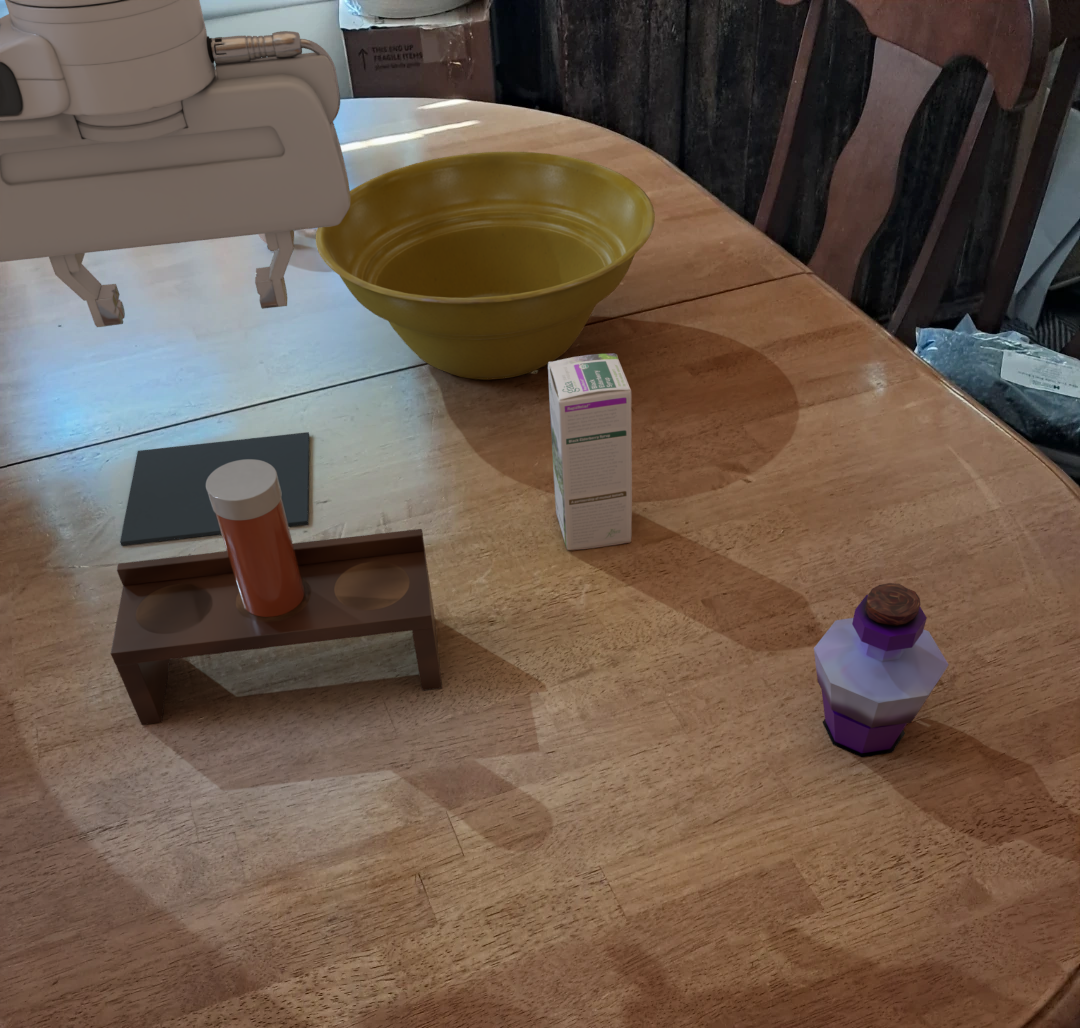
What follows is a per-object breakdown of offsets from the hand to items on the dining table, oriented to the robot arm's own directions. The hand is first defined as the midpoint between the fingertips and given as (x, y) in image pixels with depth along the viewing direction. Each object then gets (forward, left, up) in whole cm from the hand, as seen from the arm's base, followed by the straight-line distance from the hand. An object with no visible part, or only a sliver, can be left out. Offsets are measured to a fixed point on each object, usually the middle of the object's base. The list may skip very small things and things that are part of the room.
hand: (193, 312), depth 67 cm
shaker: (0, 0, -21) cm, 21 cm away
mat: (-7, +25, -28) cm, 38 cm away
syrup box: (+25, +13, -29) cm, 40 cm away
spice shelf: (0, 0, -28) cm, 28 cm away
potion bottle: (+40, -13, -29) cm, 51 cm away
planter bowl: (+20, +45, -29) cm, 57 cm away
